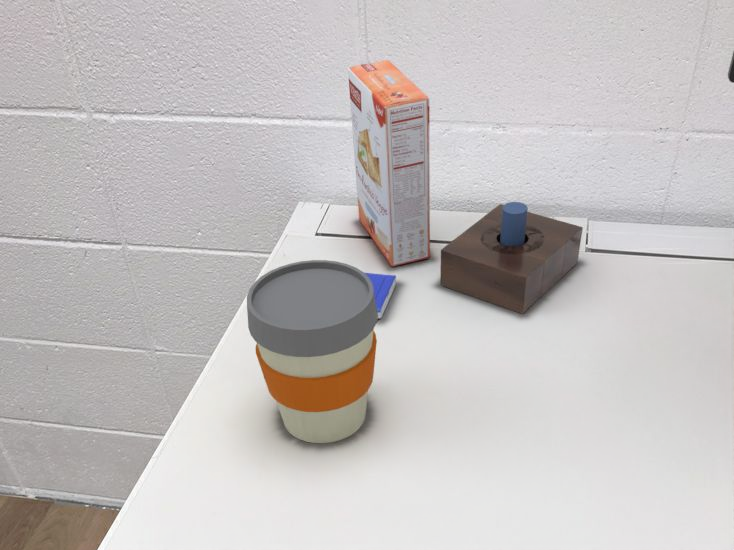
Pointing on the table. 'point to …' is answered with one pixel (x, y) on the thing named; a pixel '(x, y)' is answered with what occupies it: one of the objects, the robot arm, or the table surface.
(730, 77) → the robot arm
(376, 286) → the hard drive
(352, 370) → the reusable coffee cup
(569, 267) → the walnut block
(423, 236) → the cracker box
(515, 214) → the peg
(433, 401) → the table surface
